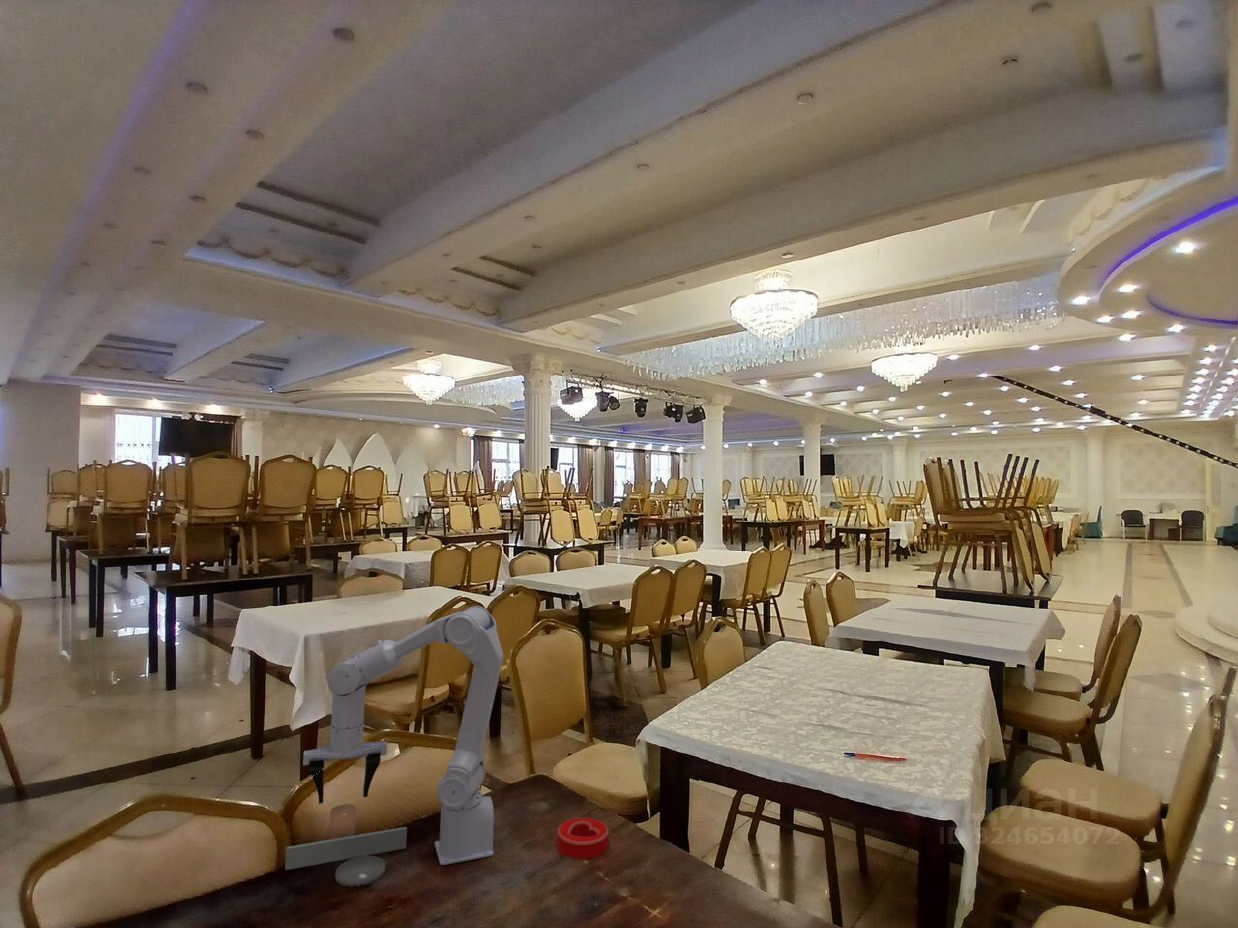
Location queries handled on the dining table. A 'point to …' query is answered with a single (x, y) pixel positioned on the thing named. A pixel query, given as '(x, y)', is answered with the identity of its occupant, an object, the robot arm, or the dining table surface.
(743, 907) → the dining table surface
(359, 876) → the slate coaster
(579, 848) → the decorative ornament
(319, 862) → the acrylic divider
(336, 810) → the terracotta cylinder
